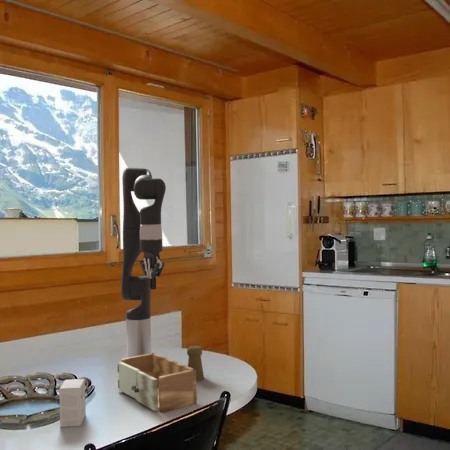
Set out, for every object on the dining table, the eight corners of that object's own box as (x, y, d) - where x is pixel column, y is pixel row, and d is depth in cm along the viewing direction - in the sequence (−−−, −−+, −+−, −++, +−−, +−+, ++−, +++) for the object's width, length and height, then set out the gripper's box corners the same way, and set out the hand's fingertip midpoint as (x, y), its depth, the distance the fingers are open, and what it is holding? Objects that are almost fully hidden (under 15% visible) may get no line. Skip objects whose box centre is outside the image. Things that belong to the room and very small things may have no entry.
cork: (201, 381, 179) (200, 348, 179) (184, 380, 180) (183, 348, 180) (205, 376, 185) (205, 344, 185) (189, 375, 186) (188, 344, 186)
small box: (65, 416, 150) (65, 379, 150) (86, 415, 150) (85, 378, 150) (59, 427, 142) (58, 388, 142) (80, 426, 142) (79, 387, 142)
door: (115, 390, 170) (114, 362, 170) (121, 388, 171) (120, 361, 171) (133, 400, 160) (133, 371, 160) (140, 398, 161) (139, 369, 161)
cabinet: (114, 391, 170) (113, 360, 170) (154, 382, 179) (154, 352, 179) (153, 414, 149) (152, 379, 149) (196, 403, 158) (196, 369, 158)
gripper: (131, 237, 182) (133, 288, 182) (150, 239, 171) (152, 292, 172) (151, 236, 186) (152, 285, 187) (170, 238, 176) (172, 290, 176)
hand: (152, 289), depth 179 cm, fingers closed
